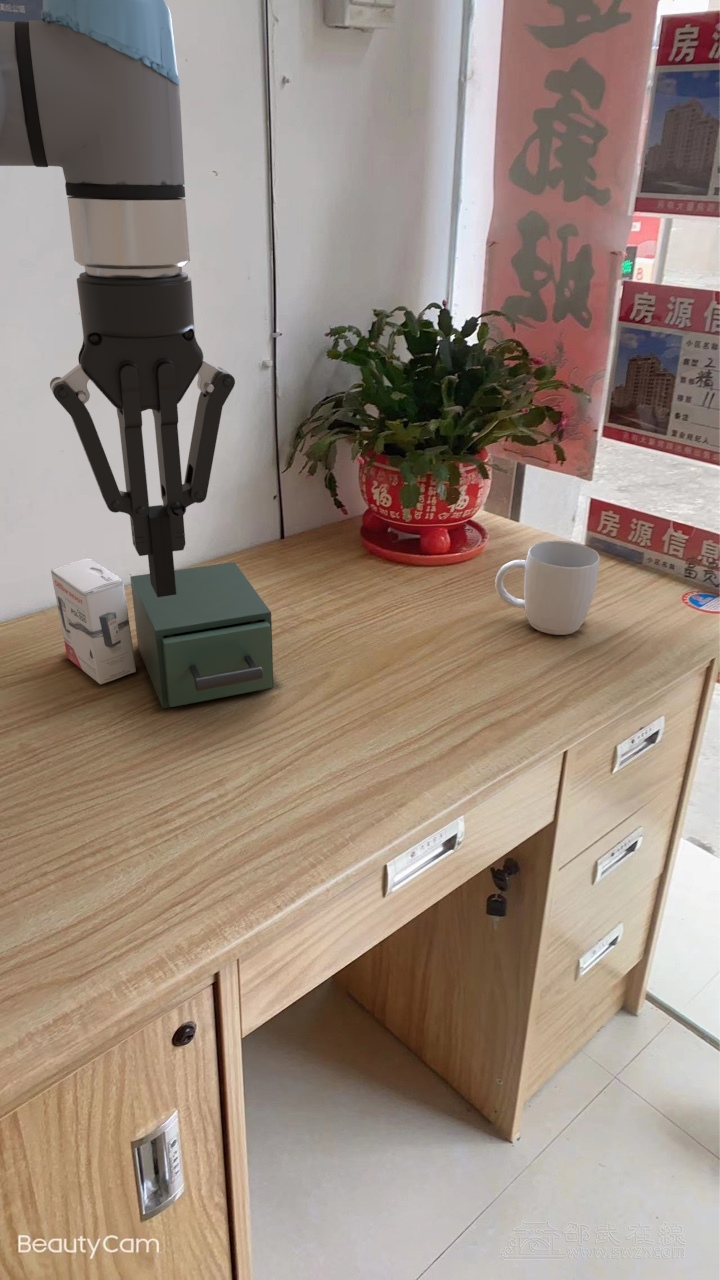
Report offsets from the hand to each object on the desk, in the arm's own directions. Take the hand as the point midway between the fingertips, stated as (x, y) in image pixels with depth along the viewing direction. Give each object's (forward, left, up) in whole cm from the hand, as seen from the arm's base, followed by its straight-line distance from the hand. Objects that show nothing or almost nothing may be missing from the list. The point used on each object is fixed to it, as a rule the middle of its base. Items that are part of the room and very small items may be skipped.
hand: (163, 588), depth 70 cm
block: (+8, +22, -20) cm, 31 cm away
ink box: (-3, +30, -23) cm, 37 cm away
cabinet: (+8, +25, -22) cm, 35 cm away
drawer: (+8, +21, -22) cm, 31 cm away
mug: (+52, +21, -23) cm, 60 cm away
